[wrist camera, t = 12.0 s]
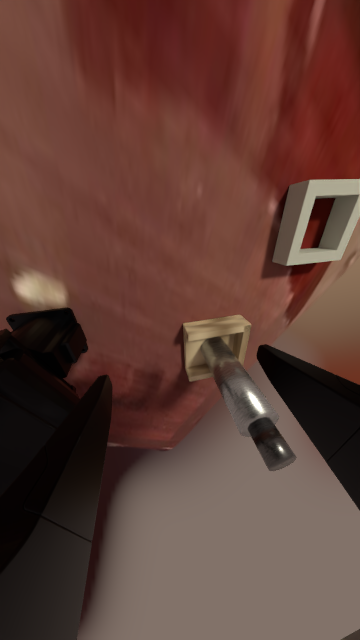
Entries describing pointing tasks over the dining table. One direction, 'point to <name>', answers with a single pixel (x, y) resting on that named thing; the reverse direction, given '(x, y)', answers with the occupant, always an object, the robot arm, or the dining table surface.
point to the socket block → (344, 215)
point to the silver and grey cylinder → (247, 404)
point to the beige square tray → (197, 332)
